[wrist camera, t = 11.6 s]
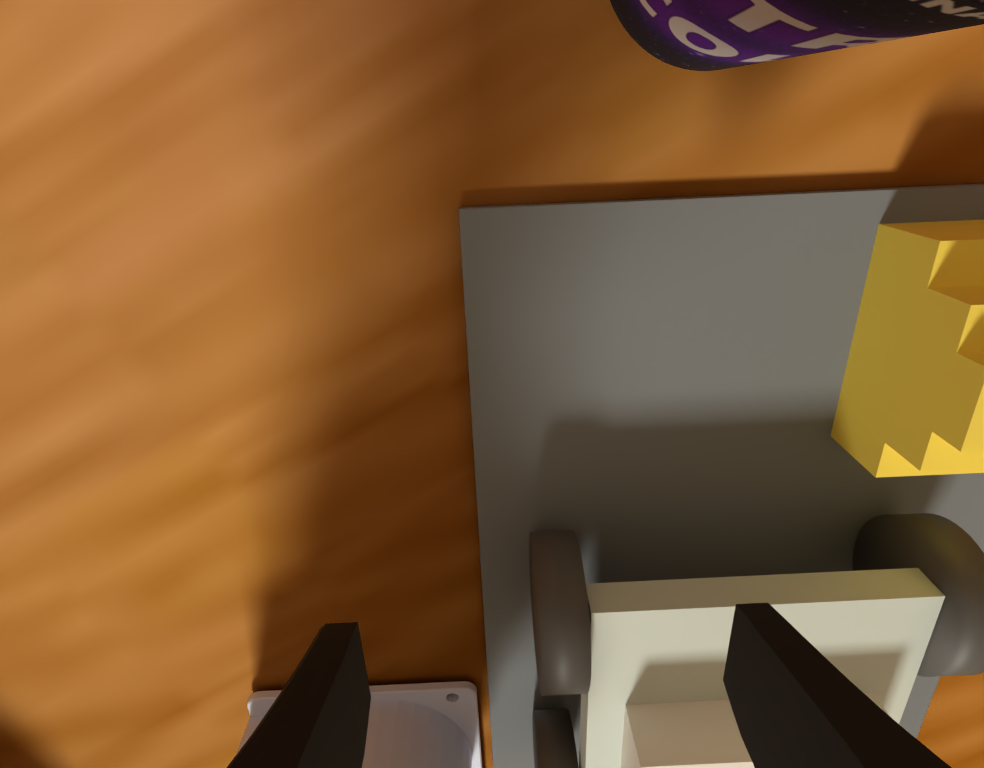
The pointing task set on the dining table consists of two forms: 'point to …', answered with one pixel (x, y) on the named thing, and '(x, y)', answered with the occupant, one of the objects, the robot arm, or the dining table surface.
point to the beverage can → (780, 26)
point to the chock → (918, 354)
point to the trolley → (706, 634)
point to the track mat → (674, 400)
